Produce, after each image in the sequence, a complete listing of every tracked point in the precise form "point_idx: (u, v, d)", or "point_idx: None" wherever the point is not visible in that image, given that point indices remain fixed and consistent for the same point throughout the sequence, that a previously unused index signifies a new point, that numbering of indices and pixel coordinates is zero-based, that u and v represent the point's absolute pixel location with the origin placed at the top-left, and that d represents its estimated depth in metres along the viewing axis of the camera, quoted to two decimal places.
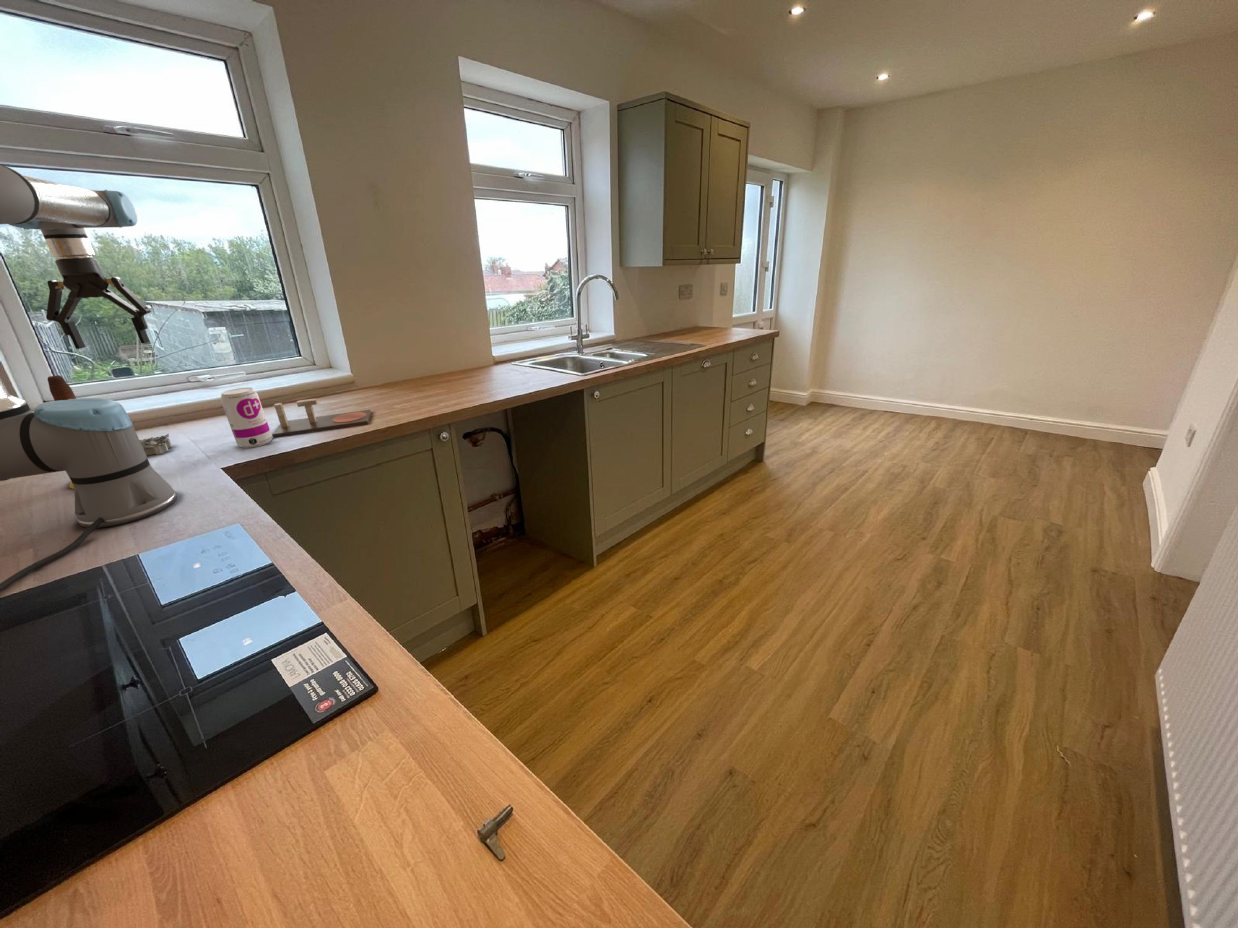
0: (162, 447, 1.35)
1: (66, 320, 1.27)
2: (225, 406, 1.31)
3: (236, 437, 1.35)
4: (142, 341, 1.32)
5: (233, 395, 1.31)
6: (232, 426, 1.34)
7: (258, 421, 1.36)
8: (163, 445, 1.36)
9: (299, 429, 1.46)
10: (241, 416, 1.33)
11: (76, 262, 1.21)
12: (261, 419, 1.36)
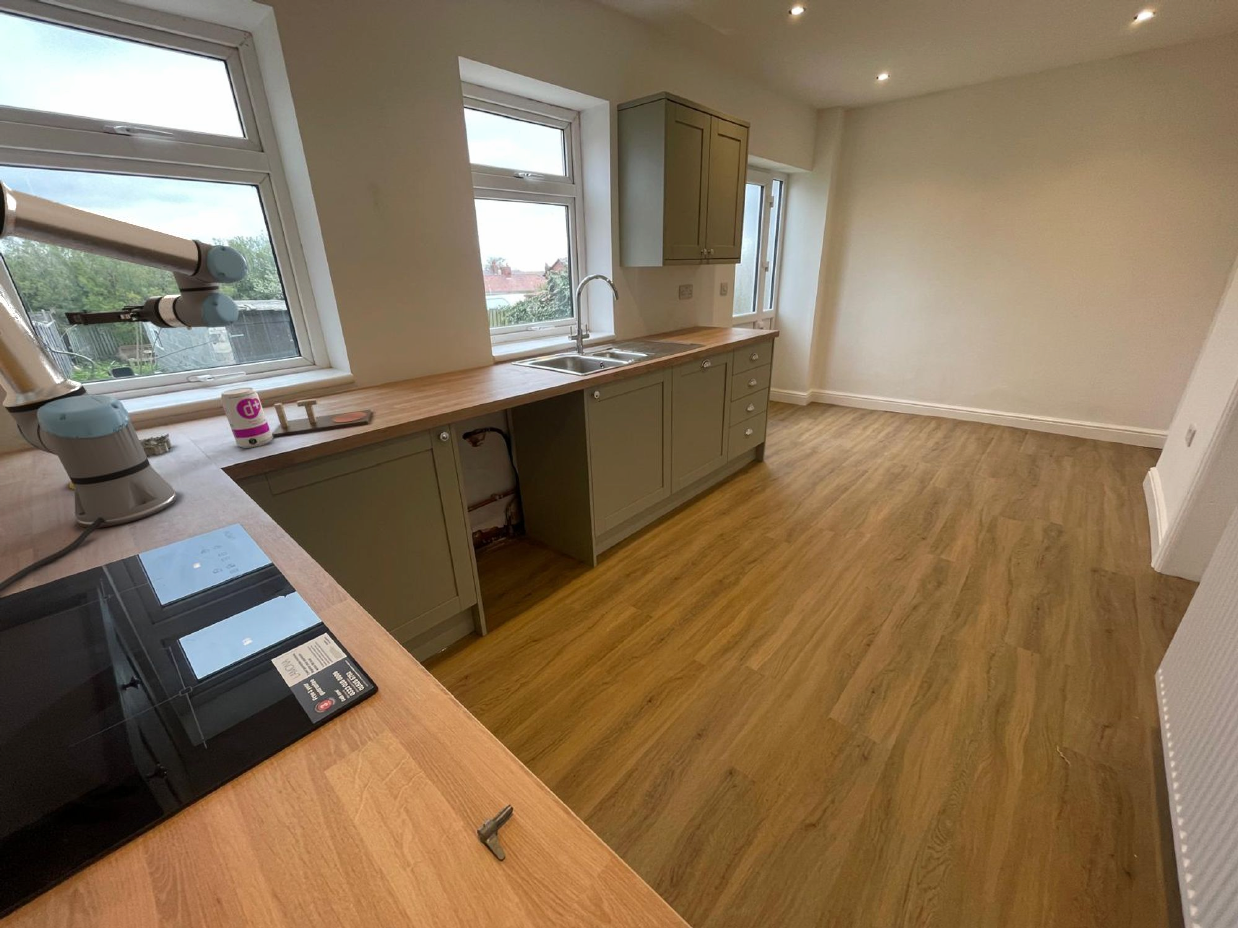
0: (162, 447, 1.35)
1: None
2: (225, 406, 1.31)
3: (236, 437, 1.35)
4: None
5: (233, 395, 1.31)
6: (232, 426, 1.34)
7: (258, 421, 1.36)
8: (163, 445, 1.36)
9: (299, 429, 1.46)
10: (241, 416, 1.33)
11: (157, 297, 1.20)
12: (261, 419, 1.36)
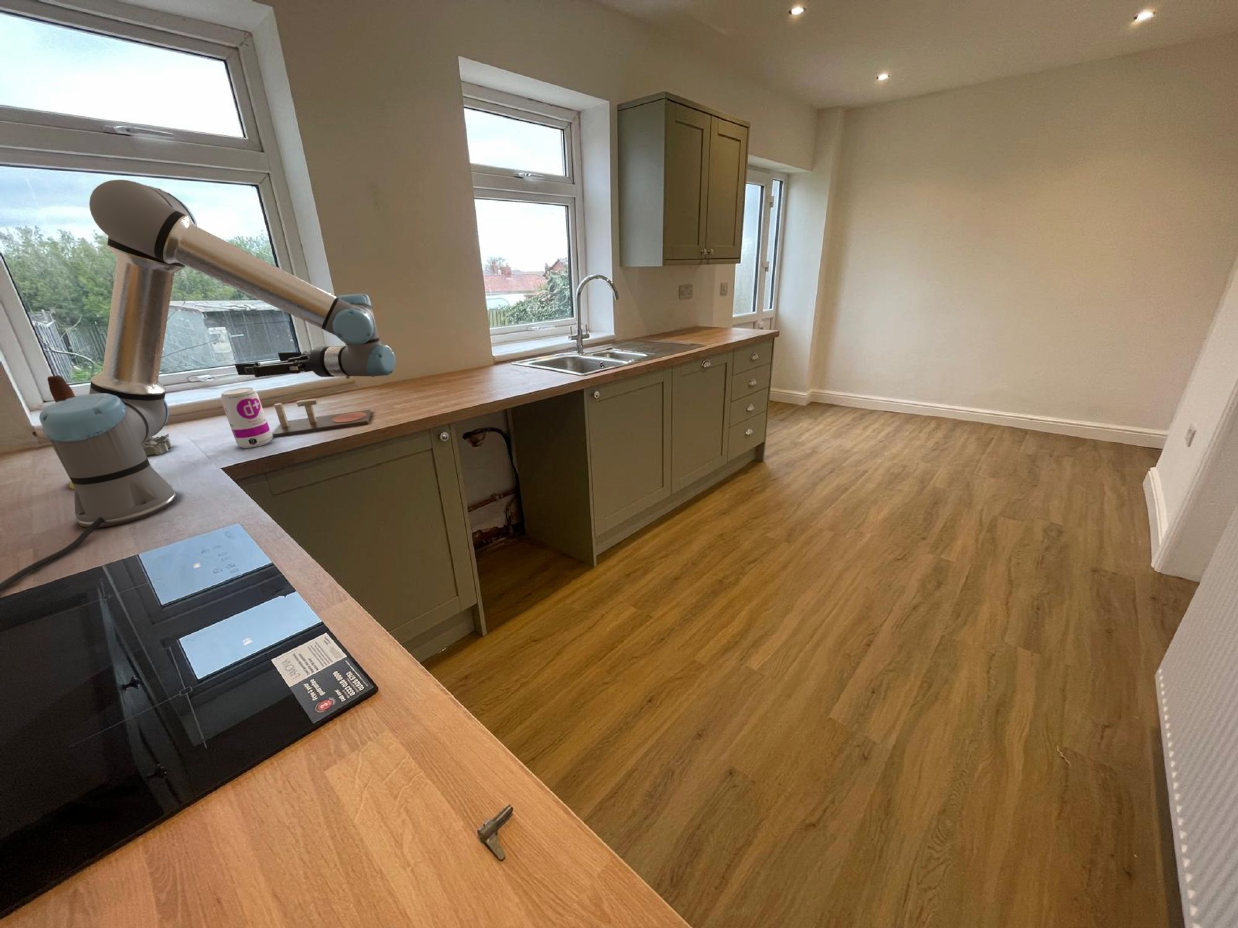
0: (161, 447, 1.35)
1: None
2: (225, 406, 1.31)
3: (236, 437, 1.35)
4: (237, 364, 1.22)
5: (233, 395, 1.31)
6: (232, 426, 1.34)
7: (258, 421, 1.36)
8: (163, 445, 1.35)
9: (299, 429, 1.46)
10: (241, 416, 1.33)
11: (321, 348, 1.23)
12: (261, 419, 1.36)
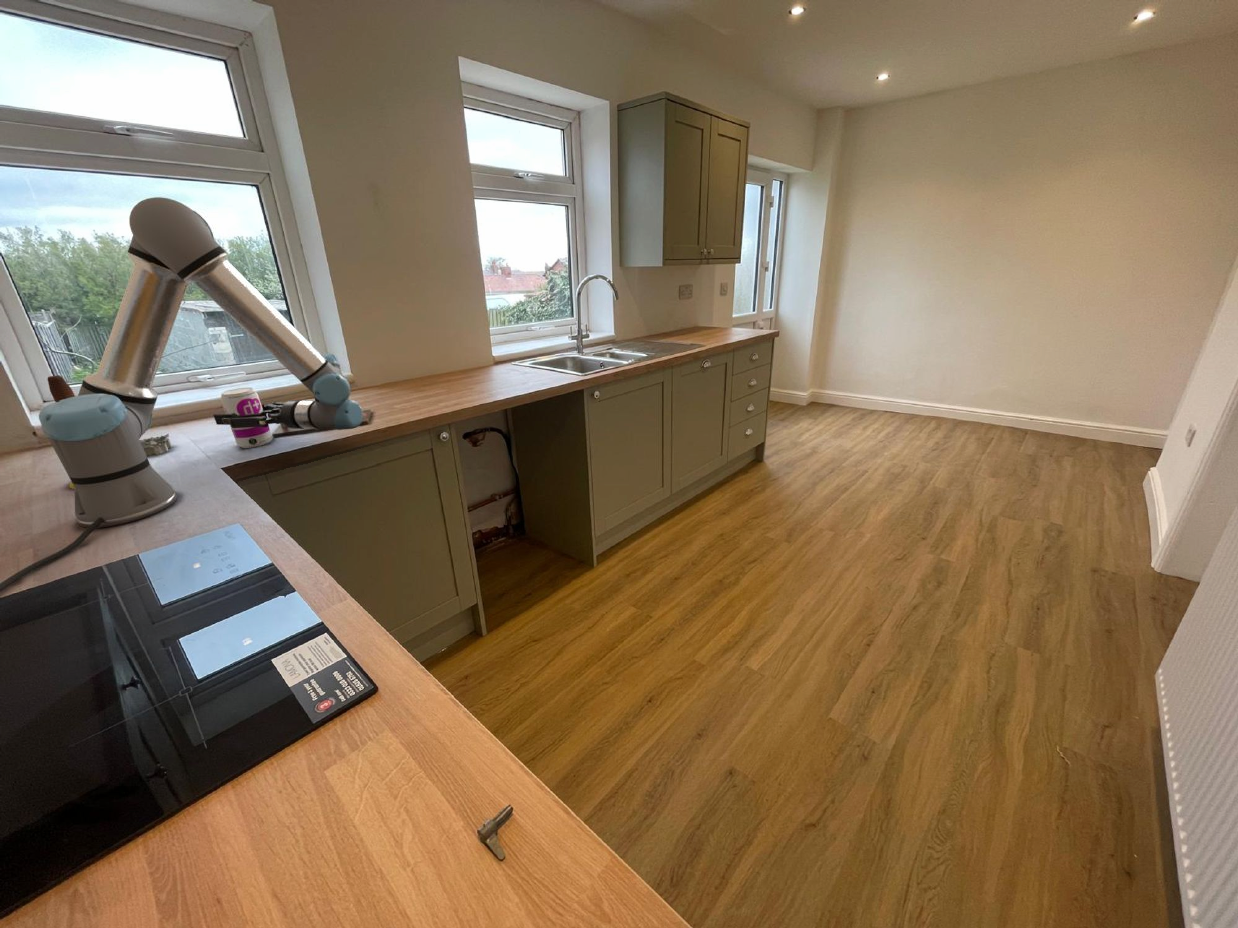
0: (161, 447, 1.35)
1: (267, 409, 1.40)
2: (225, 406, 1.31)
3: (236, 437, 1.35)
4: (215, 414, 1.32)
5: (233, 395, 1.31)
6: None
7: None
8: (163, 445, 1.35)
9: (299, 429, 1.46)
10: None
11: (292, 403, 1.31)
12: None
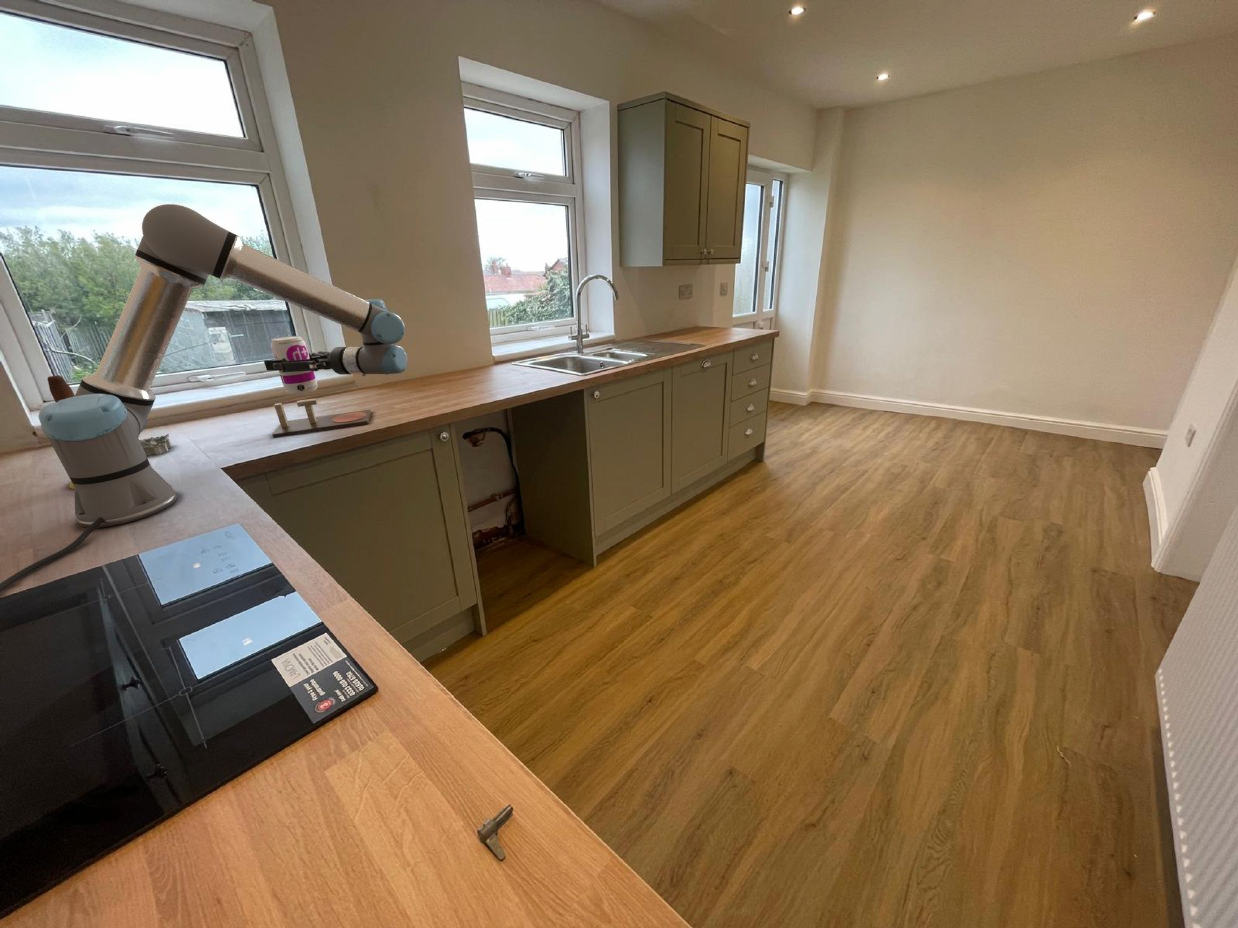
0: (161, 447, 1.35)
1: None
2: (275, 352, 1.36)
3: (285, 383, 1.40)
4: (266, 360, 1.37)
5: (283, 341, 1.35)
6: (281, 372, 1.38)
7: None
8: (163, 445, 1.35)
9: (299, 429, 1.46)
10: None
11: (340, 349, 1.35)
12: None
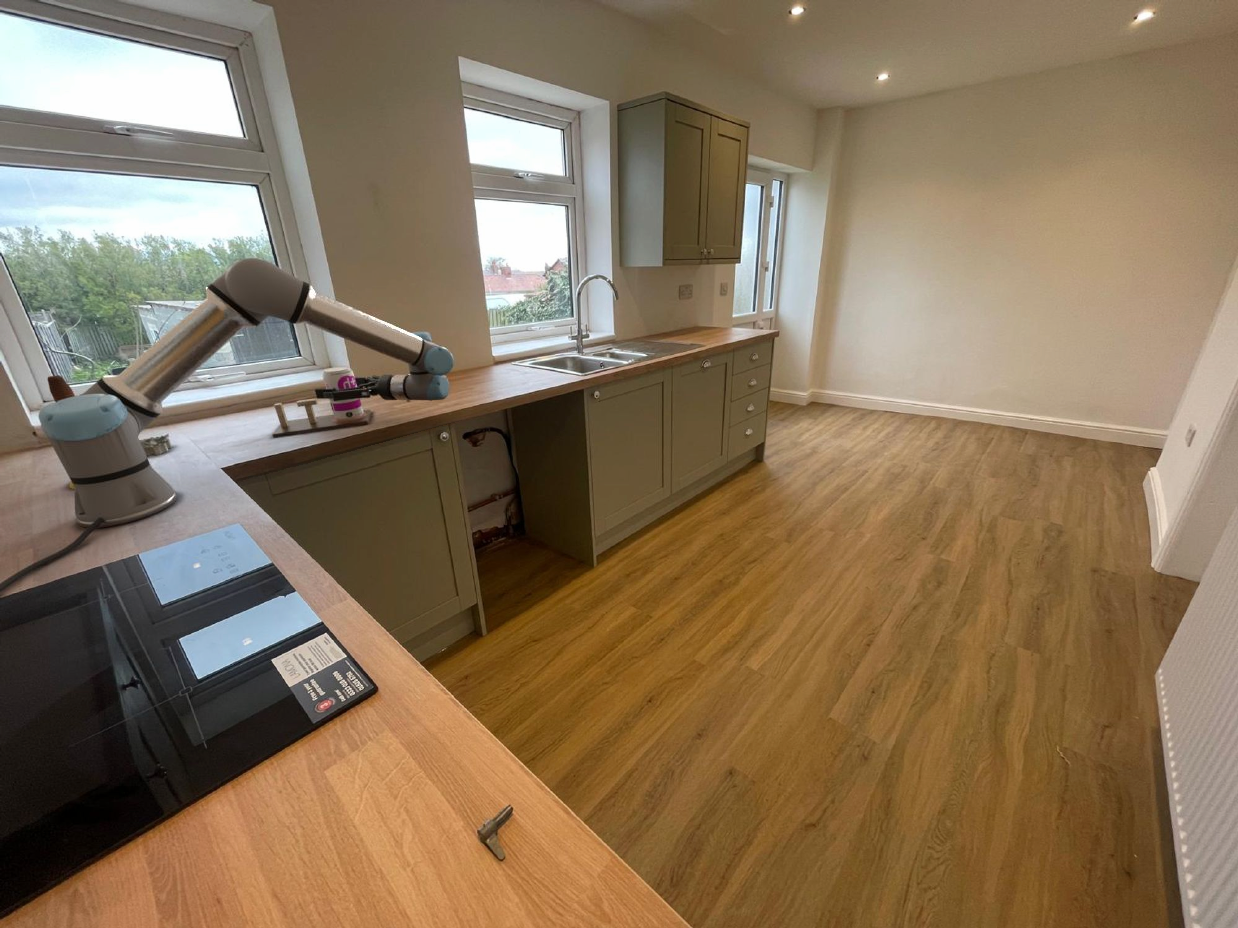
0: (161, 447, 1.35)
1: (367, 381, 1.57)
2: (327, 382, 1.47)
3: (335, 410, 1.50)
4: (316, 389, 1.45)
5: (335, 372, 1.46)
6: (332, 400, 1.49)
7: None
8: (163, 445, 1.35)
9: (299, 429, 1.46)
10: None
11: (388, 377, 1.46)
12: None
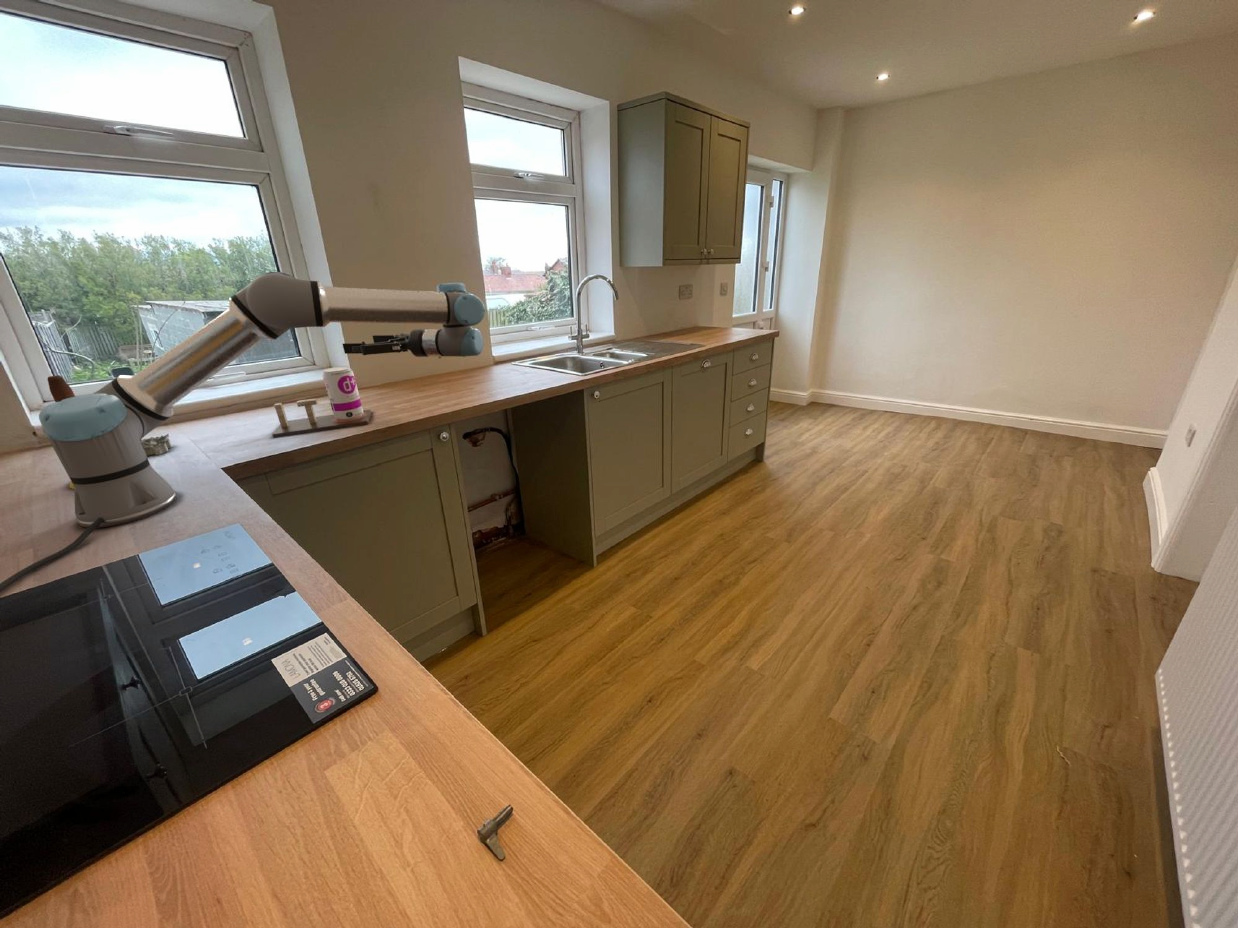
0: (161, 447, 1.35)
1: None
2: (327, 382, 1.47)
3: (335, 410, 1.50)
4: (344, 343, 1.38)
5: (335, 372, 1.46)
6: (332, 400, 1.49)
7: (354, 396, 1.51)
8: (163, 445, 1.35)
9: (299, 429, 1.46)
10: (341, 391, 1.48)
11: (419, 331, 1.39)
12: (356, 395, 1.52)
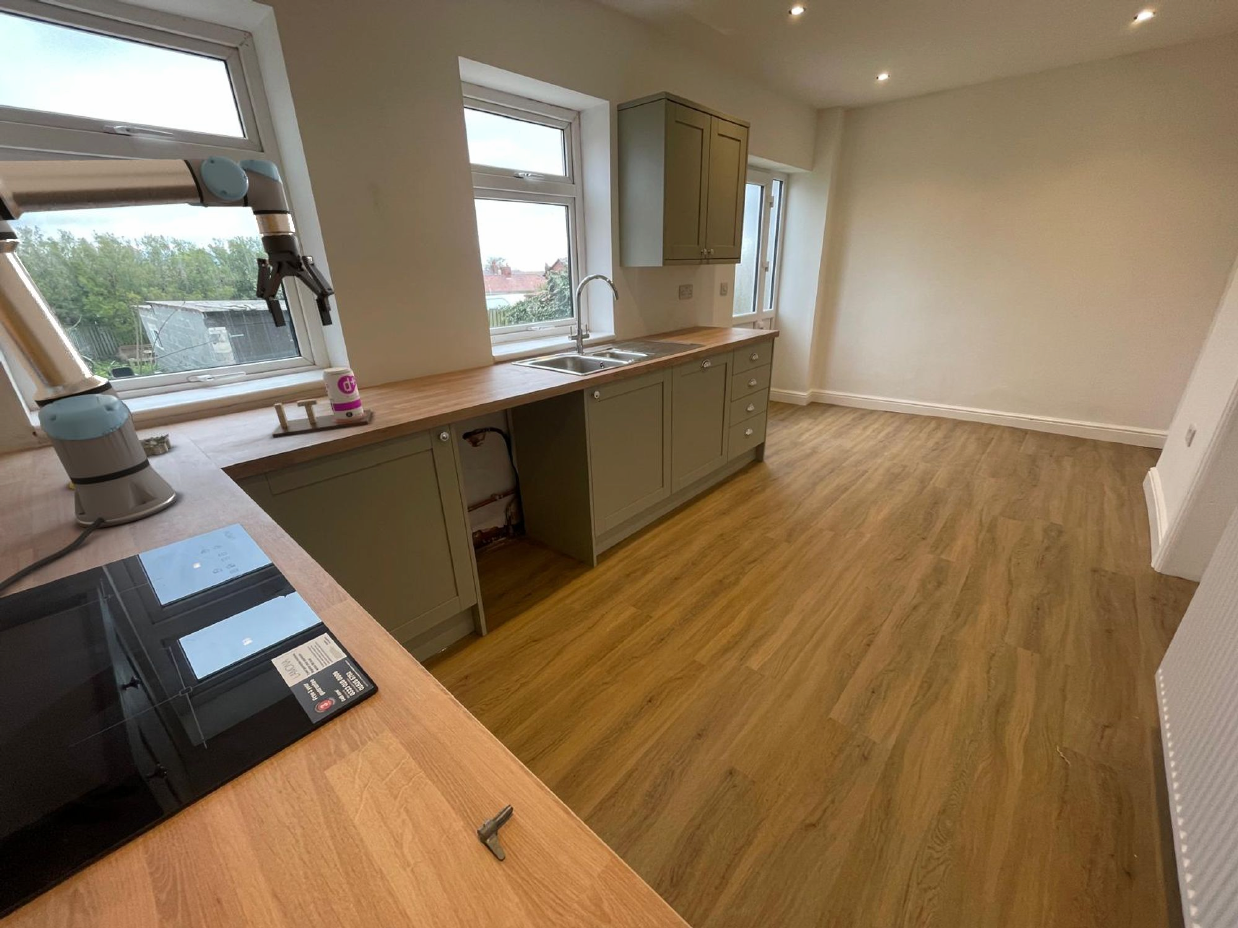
0: (161, 447, 1.35)
1: (271, 298, 1.27)
2: (327, 382, 1.47)
3: (335, 410, 1.50)
4: (323, 324, 1.26)
5: (335, 372, 1.46)
6: (332, 400, 1.49)
7: (354, 396, 1.51)
8: (163, 445, 1.35)
9: (299, 429, 1.46)
10: (341, 391, 1.48)
11: (273, 239, 1.17)
12: (356, 395, 1.52)
